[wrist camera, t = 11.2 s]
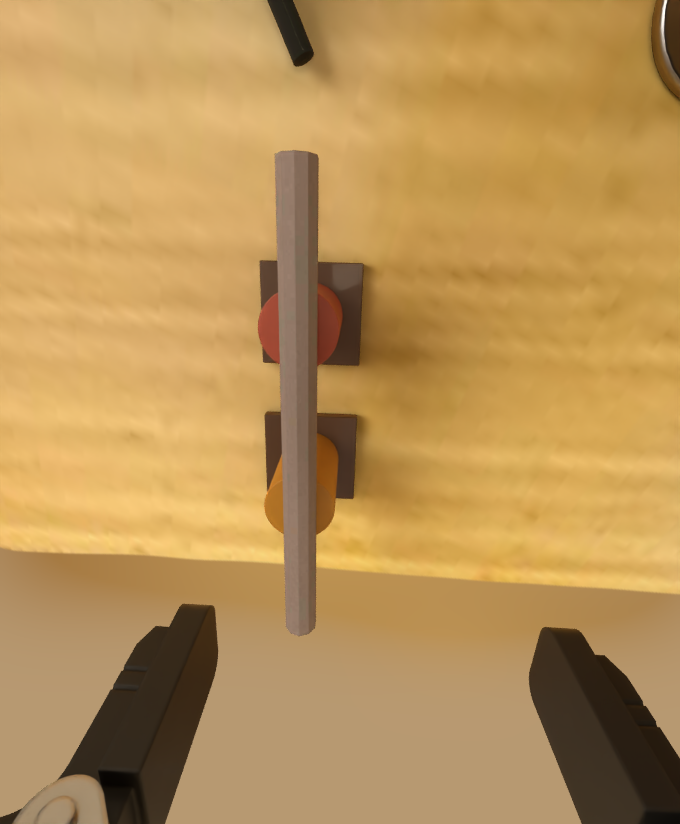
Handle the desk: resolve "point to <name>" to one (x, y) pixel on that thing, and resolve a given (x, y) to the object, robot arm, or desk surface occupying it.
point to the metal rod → (298, 376)
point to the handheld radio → (292, 31)
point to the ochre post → (331, 466)
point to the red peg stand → (319, 313)
